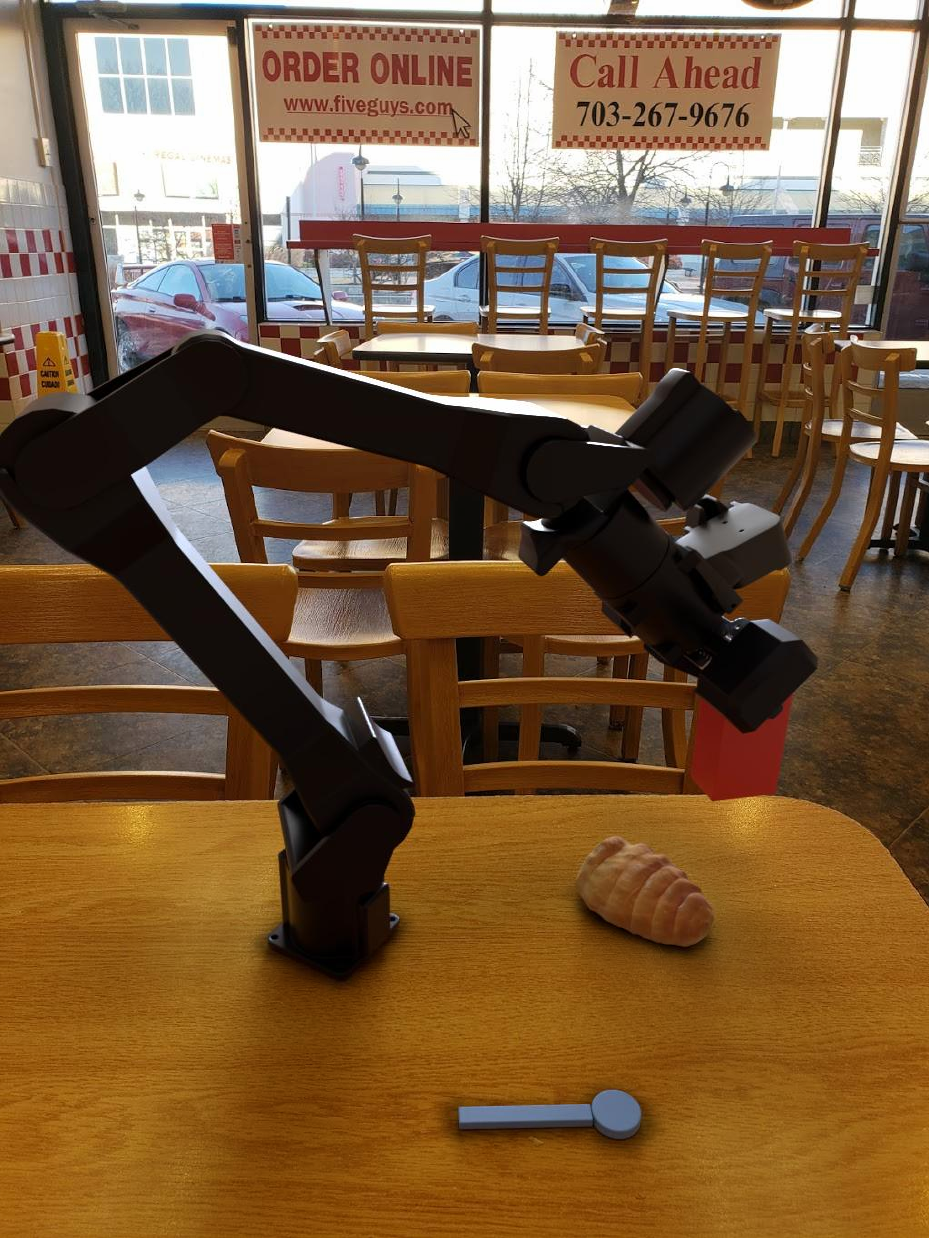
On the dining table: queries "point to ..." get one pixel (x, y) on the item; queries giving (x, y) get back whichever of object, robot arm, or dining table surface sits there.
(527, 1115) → the spoon
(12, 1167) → the dining table surface
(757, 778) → the fries carton
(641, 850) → the pastry
